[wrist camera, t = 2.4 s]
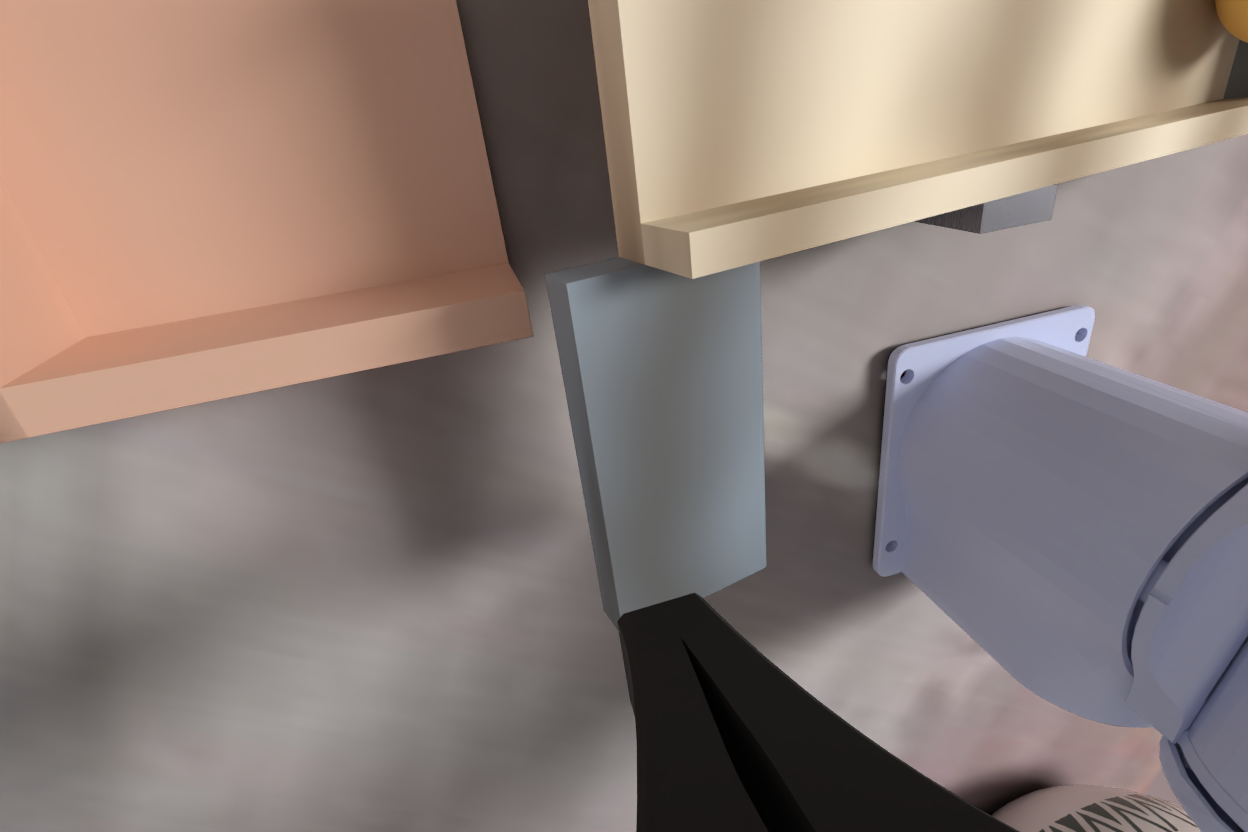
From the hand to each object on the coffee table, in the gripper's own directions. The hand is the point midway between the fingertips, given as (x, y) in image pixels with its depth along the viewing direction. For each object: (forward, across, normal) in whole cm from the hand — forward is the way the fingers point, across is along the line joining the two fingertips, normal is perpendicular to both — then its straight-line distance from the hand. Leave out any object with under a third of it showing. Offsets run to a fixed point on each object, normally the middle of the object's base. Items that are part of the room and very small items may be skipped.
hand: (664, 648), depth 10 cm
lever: (+6, -10, -5) cm, 13 cm away
